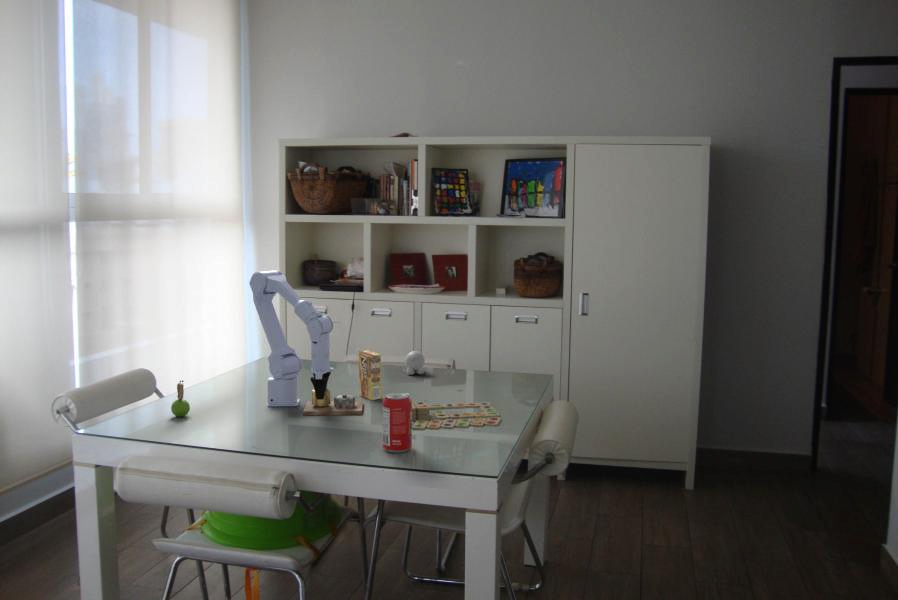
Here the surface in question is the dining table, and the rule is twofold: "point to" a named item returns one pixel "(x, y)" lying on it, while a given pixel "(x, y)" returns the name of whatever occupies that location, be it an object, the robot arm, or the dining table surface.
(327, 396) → the brass gear
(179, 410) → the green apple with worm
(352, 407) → the gear board
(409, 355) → the chubby cartoon animal
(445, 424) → the pile of dominoes
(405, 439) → the soda can
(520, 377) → the dining table surface
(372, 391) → the candy box
